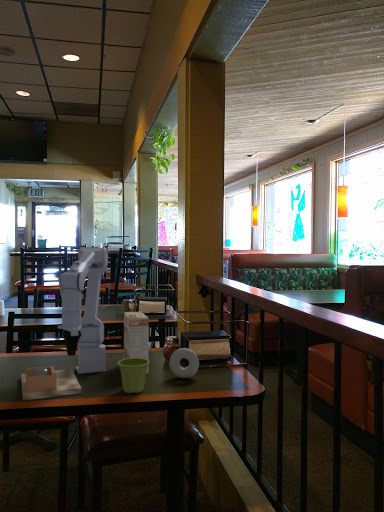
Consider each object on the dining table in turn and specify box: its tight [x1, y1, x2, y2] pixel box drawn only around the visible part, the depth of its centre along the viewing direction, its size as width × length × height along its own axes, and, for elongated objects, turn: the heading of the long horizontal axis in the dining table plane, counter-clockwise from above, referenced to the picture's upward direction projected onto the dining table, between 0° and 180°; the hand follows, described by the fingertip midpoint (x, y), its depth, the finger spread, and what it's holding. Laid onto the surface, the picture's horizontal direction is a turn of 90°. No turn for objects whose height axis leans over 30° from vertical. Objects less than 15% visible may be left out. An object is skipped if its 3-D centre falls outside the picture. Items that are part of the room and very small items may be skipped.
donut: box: [169, 347, 200, 379], centre depth 138 cm, size 10×4×10 cm, turn 85°
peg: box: [35, 368, 48, 376], centre depth 124 cm, size 4×4×6 cm
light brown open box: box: [25, 365, 57, 392], centre depth 124 cm, size 8×11×4 cm
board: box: [20, 368, 82, 401], centre depth 129 cm, size 16×22×2 cm
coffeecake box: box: [123, 311, 150, 375], centre depth 149 cm, size 15×7×20 cm, turn 16°
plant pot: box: [117, 358, 150, 394], centre depth 125 cm, size 9×9×9 cm
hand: (71, 355), depth 128 cm, fingers closed
